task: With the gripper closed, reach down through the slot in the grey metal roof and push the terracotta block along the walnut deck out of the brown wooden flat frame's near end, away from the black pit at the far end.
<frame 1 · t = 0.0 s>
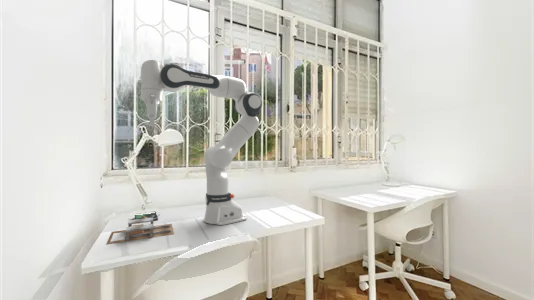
hand: (152, 126, 110), 48 cm above the table, tool pointing down, fingers open, 8 cm apart
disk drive: (146, 221, 123), on the table
block: (136, 233, 102), point 1 cm above the table, touching brown wooden flat frame
brown wooden flat frame: (143, 236, 103), on the table
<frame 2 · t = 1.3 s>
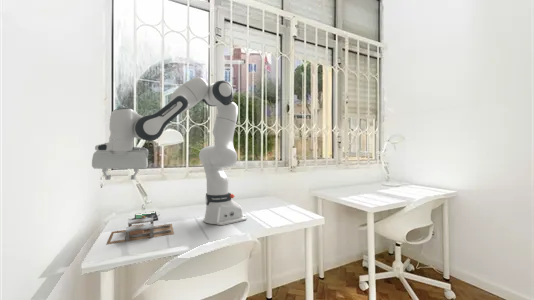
hand: (120, 179, 100), 25 cm above the table, tool pointing down, fingers open, 8 cm apart
nothing on the table moved.
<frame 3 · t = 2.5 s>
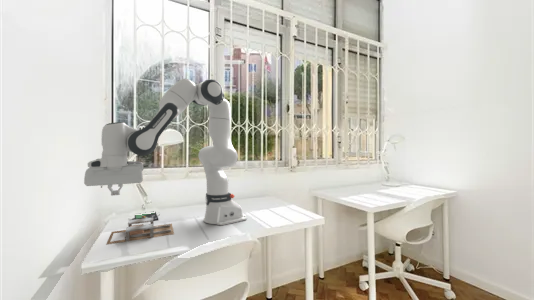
hand: (115, 195, 98), 19 cm above the table, tool pointing down, fingers closed
nothing on the table moved.
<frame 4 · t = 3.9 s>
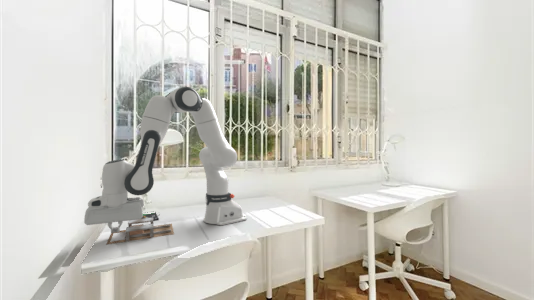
hand: (115, 232, 98), 4 cm above the table, tool pointing down, fingers closed
nothing on the table moved.
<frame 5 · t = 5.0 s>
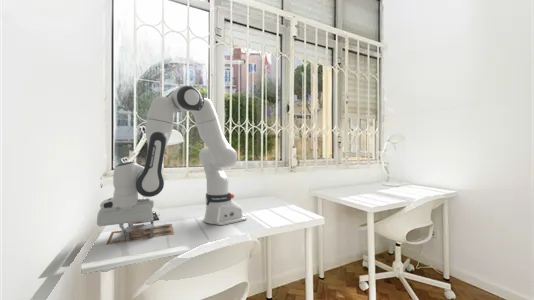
hand: (126, 232, 100), 2 cm above the table, tool pointing down, fingers closed
block: (137, 233, 102), point 2 cm above the table, touching gripper
everything else where it was.
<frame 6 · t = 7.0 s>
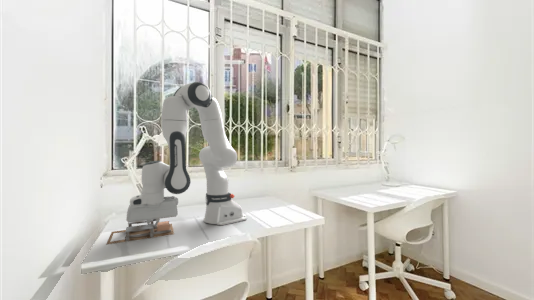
hand: (153, 228, 104), 3 cm above the table, tool pointing down, fingers closed
block: (163, 230, 106), point 1 cm above the table, touching gripper, brown wooden flat frame
everything else where it was.
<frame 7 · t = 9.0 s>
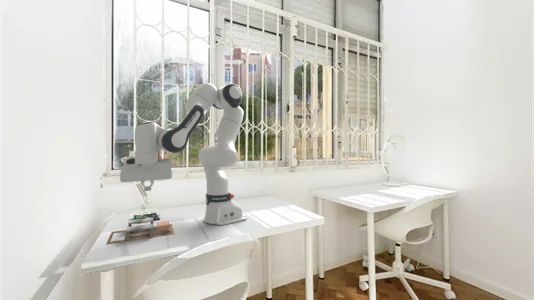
hand: (147, 190, 104), 20 cm above the table, tool pointing down, fingers closed
block: (163, 230, 106), point 1 cm above the table, touching brown wooden flat frame
everything else where it was.
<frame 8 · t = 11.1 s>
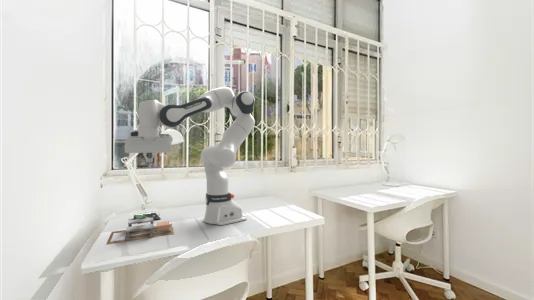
hand: (149, 162, 113), 31 cm above the table, tool pointing down, fingers closed
nothing on the table moved.
at the end: block 1.7 cm from the target spot, point 1.5 cm above the table; block tilted 0° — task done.
